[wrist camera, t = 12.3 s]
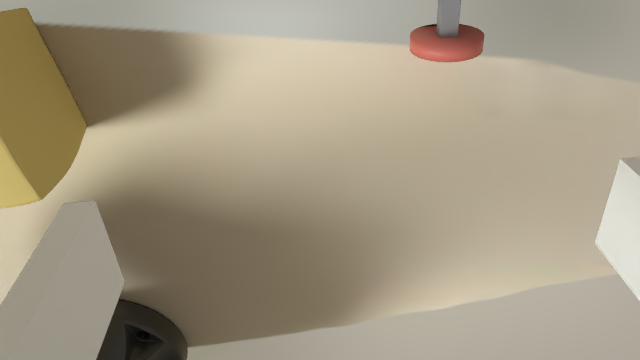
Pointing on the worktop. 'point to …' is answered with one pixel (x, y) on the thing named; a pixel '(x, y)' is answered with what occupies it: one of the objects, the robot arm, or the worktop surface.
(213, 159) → the worktop surface
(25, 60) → the cheese
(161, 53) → the worktop surface
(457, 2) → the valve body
